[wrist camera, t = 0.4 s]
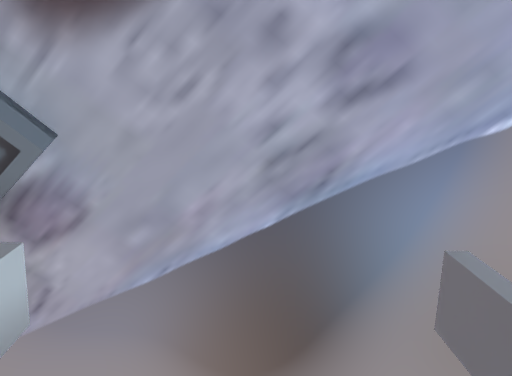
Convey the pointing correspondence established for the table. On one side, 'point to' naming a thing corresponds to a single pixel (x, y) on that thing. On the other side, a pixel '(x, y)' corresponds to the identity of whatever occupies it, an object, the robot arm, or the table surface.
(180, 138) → the table surface
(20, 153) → the tray
